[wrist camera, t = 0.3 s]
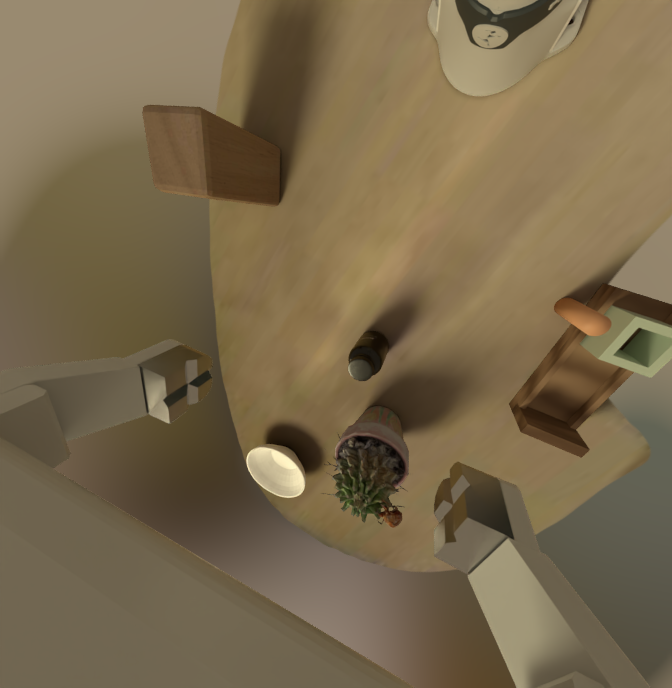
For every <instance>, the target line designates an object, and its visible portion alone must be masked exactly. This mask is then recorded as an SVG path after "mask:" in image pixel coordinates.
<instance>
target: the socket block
mask: <svg viewBox="0 0 672 688" xmlns="http://www.w3.org/2000/svg"><path fill="white" fill-rule="evenodd" d="M604 316H606V317H608V318H609V319H610V320H611V323H612V325H611V328H610V329H609V330H608V331H607V332H606V333H605V334H602V335H600V336H589V335H586V337H585V338H584V339H583V340H582V341H581V343H580V345H581V346H583V347H584V348H585V349H586V350H587V351H589V352H590V353H591V354H592V355H594V356H595V357H596V358H597V359H600V360H602V361H605V362H608V363H611V364H613V365H616V366H619V367H622V368H625V369H627V370H630V371H633V372H636V373H639V374H641V375H644V376H647V377H650V378H651V377H652V376H654V375H655V374H656V373H657V372H658V371H659V370H660V369H661V368H662V367H663V366H664V365H665V364H666V363H667V362H668V361H669V360H670V359H671V358H672V326H671V325H669V324H666V323H664V322H662V321H659V320H656V319H653V318H649V317H646V316H643V315H640V314H637V313H634V312H631V311H628V310H625V309H622V308H619V307H615V306H612V305H611V306H610V308H609V309H608V310H607V311H606V312H605V314H604ZM638 328H642V330H641V331H640V332H639V333H638V334H637V335H636V336H635V337H634V338H633V339H632V340H631V342H630V343H629V344H628V345H627V346H626V347H625V348H624V349H623V350H619V348H620V347H621V346H622V345H623V344H624V343H625V342H626V341H627V340H628V339H629V337H630V336H631V335H632V334H633V333H634V332H635V331H636V330H637V329H638Z"/></svg>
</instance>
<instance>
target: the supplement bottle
mask: <svg viewBox="0 0 672 688" xmlns="http://www.w3.org/2000/svg"><path fill="white" fill-rule="evenodd" d="M388 349H389V343H388V341H387V339H386V337H385V336H384V335H383V334H381V333H379V332H376V331H369V332H366V333H364V334H363V335H362V336H361V337H360V339H359V340H358V341H357V343H356V344H355V346H354V347H353V349H352V350H351V352H350V354H349V365H348V370H349V371H348V372H349V374H350V375H351V376H352V377H353V378H354V379H356V380H359V381H366V380H368V379H370V377H371V376H373V375H375V374H377V373H378V372H379V371H380V369H381V367H382V365H383V363H384V360H385V358H386V355H387V353H388Z"/></svg>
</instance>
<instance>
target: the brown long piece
mask: <svg viewBox="0 0 672 688" xmlns="http://www.w3.org/2000/svg"><path fill="white" fill-rule="evenodd" d="M611 305H612V306H615V307H619V308H622V309H625V310H628V311H631V312H634V313H637V314H640V315H643V316H646V317H649V318H653V319H656V320H659V321H662V322H664V323H666V324H669V325H671V326H672V305H671V304H668V303H665V302H662V301H659V300H655V299H652V298H649V297H646V296H643V295H640V294H636V293H633V292H630V291H627V290H623V289H620V288H617V287H614V286H611V285H607V284H604V283H603V284H602V286H601V287H600V288H599V289H598V291H597V292H596V293H595V295H594V296H593V297H592V298H591V300H590V301H589V302H588V303H587V305H586V306H587V307H589V308H591V309H593V310H595V311H597V312H599V313H601V314H603V315H604V314H605V312H606V311H607V310H608V309H609V308H610V306H611ZM641 330H642V328H638V329H637V330H636V331H635V332H634V333H633V334H632V335H631V336H630V337H629V339H628V340H627V341H626V342H625V343H624V344H623V345H622V346H621V347H620V348H619V350H623V349H624V348H625V347H626V346H627V345H628V344H629V343H630V342H631V340H632V339H633V338H634V337H635V336H636V335H637V334H638V333H639V332H640V331H641ZM586 335H587V334H586V333H584V332H583V331H581V330H580V329H578V328H577V327H576V326H574V325H573V324H571V325H570V327H569V328H568V329H567V330H566V332H565V333H564V334H563V335H562V337H561V338H560V339H559V341H558V342H557V343H556V344H555V346H554V347H553V348H552V350H551V351H550V352H549V353H548V355H547V356H546V357H545V359H544V360H543V361H542V362H541V364H540V365H539V366H538V368H537V369H536V370H535V371H534V373H533V374H532V375H531V376H530V378H529V379H528V380H527V382H526V383H525V384H524V385H523V387H522V388H521V389H520V391H519V392H518V393H517V394H516V396H515V397H514V398H513V400H512V401H511V402H510V403H509V405H510V407H511V410H512V412H513V414H514V417H515V419H516V422H517V424H518V426H519V429H520V431H521V432H522V433H524V434H527V435H529V436H531V437H534V438H536V439H539V440H541V441H543V442H546V443H548V444H550V445H553V446H555V447H558V448H560V449H562V450H565V451H567V452H569V453H572V454H574V455H577V456H579V457H583V456H584V455H585V454H586V453H587V452H588V451H589V450H590V449H589V448H588V447H587V445H586V444H585V442H584V441H583V439H582V438H581V437H580V435H579V434H578V432H577V431H576V429H577V428H578V427H579V426H580V425H581V424H582V423H583V422H584V421H585V420H586V419H587V418H588V417H589V416H590V415H591V414H592V413H593V412H594V411H595V410H596V409H597V408H598V407H599V406H600V405H601V404H602V403H603V402H604V401H605V400H606V399H607V398H608V397H609V396H610V395H611V394H612V393H614V392H615V390H617V388H618V387H620V386H621V385H622V383H623V382H625V380H627V379H628V378H629V377H630V376H631V375H632V374H633V373H634V372H633V371H630V370H627V369H625V368H622V367H619V366H616V365H613V364H611V363H608V362H605V361H602V360H600V359H597V358H596V357H595V356H594V355H592V354H591V353H590V352H589V351H587V350H586V349H585V348H584V347H583V346H581V345H580V343H581V341H582V340H583V339H584V338H585V337H586Z"/></svg>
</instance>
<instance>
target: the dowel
mask: <svg viewBox="0 0 672 688" xmlns="http://www.w3.org/2000/svg"><path fill="white" fill-rule="evenodd" d="M554 310H555V312H556V313H557V314H559V315H560V316H562V317H563V318H564V319H566V320H567V321H569V322H570V323H571V324H573V325H574V326H576V327H577V328H578V329H580V330H581V331H583V332H584V333H586V334H587V335H589V336H600V335H602V334H605V333H606V332H607V331H608V330H609V329H610V328H611V325H612V323H611V320H610V319H609V318H608V317H606V316H604V315H603V314H601V313H599V312H597V311H595V310H593V309H591V308H589V307H587V306H585V305H584V304H582V303H580V302H578V301H576V300H574V299H572V298H562V299H560V300H559V301H557V302H556V304H555V306H554Z"/></svg>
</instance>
